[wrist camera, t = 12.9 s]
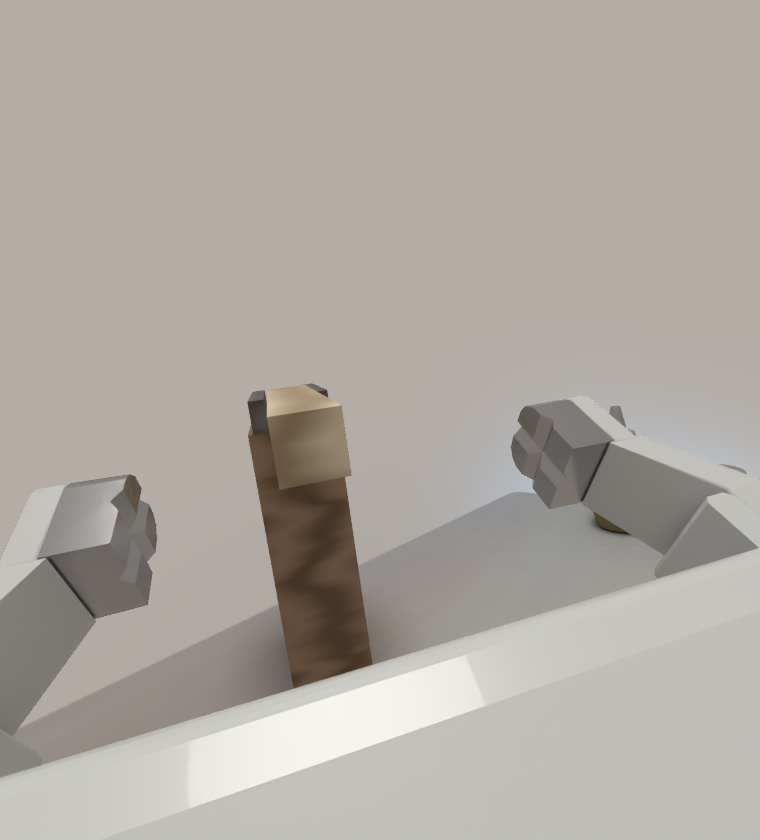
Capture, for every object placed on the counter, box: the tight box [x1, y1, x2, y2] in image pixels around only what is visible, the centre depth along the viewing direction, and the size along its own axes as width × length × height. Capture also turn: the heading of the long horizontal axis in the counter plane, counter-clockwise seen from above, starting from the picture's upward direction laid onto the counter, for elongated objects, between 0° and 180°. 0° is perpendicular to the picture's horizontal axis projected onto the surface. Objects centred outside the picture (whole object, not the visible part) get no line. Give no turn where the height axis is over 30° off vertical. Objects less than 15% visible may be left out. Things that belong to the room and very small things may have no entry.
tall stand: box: [248, 384, 372, 688], centre depth 42 cm, size 7×12×28 cm, turn 15°
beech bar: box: [267, 385, 351, 490], centre depth 26 cm, size 3×18×3 cm, turn 15°
